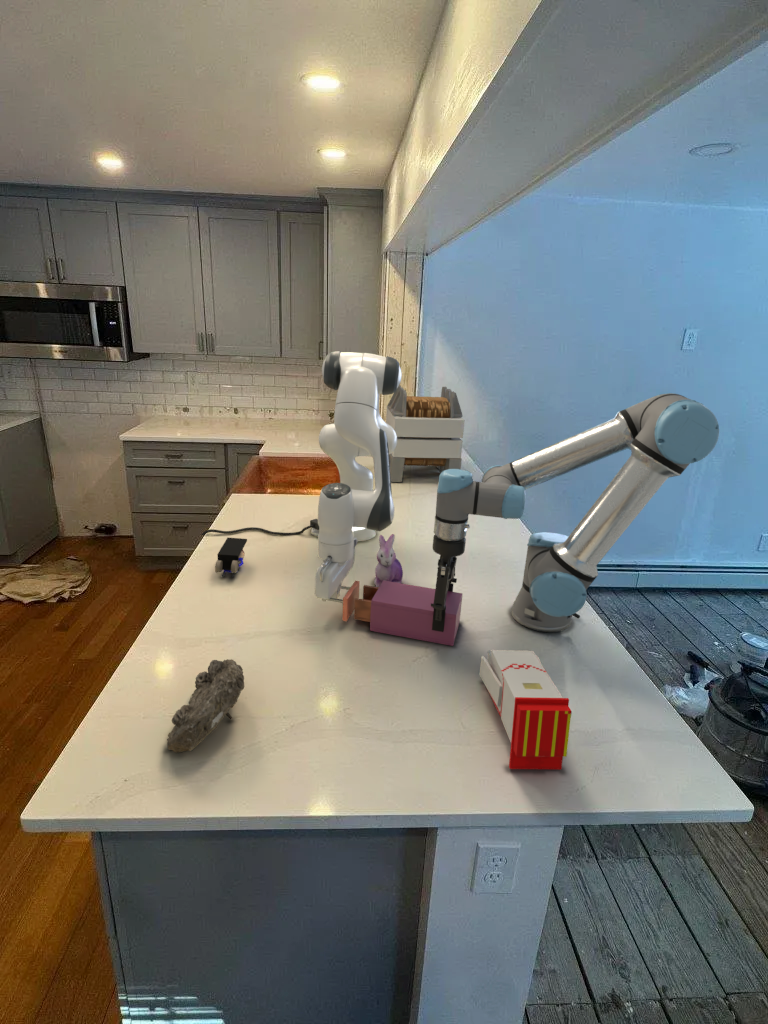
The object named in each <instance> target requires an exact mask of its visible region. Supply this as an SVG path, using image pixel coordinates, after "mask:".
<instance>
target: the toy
mask: <svg viewBox="0 0 768 1024" xmlns="http://www.w3.org/2000/svg"><path fill="white" fill-rule="evenodd" d="M480 658H481V659H480V667H479V677H480V679H481V681H482V682H483V684H484V686H485V687H486V690H487V692H488V694H489V696H490V699H491V701H492V702H493V704H494V707H495V709H496V711H497V713H498V715H499V717H500V720H501V722H502V725H503V727H504V730H505V732H506V734H507V737H508V739H509V742H510V749H509V750H510V751H509V753H510V754H509V761H508V762H509V764H508V769H509V770H559V771H560V770H561V771H562V767H563V759H564V758H567V755H568V747H569V738H570V737H569V736H570V729H571V728H570V727H571V721H572V710H571V708H570V706H569V704H570V699H569V697H563V696H562V694H561V692H560V691H559V689H558V687H557V686H556V684H555V683H554V681H553V680H552V678H551V676H550V675H549V674H548V672H547V670H546V669H545V667H544V666H543V664H542V662H541V659H540V657H539V655H537V654H536V653H535V652H534V650H514V649H513V650H512V649H491V650H487V658H486V657H485V656H484V655H481V657H480Z"/></svg>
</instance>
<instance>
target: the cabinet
mask: <svg viewBox="0 0 768 1024" xmlns="http://www.w3.org/2000/svg"><path fill="white" fill-rule="evenodd" d="M435 589H436V588H432V587H425V586H419V585H414V584H407V583H402V582H401V583H396V582H390V581H383V582H382V583H381V585H380V587H379V588H378V590H377V592H376V593H375V595H374V597H373V599H372V600H371V617H370V622H369V631H371V632H374V633H379V634H386V635H391V636H396V637H401V638H402V637H403V638H407V639H408V638H409V639H413V640H417V641H423V642H429V643H435V644H441V645H446V646H452V647H454V644H455V641H456V637H457V633H458V629H459V626H460V620H461V611H462V603H463V593H462V592H456V591H453V592H451V591H447V598H446V604H445V605H446V613H445V623H444V631H443V632H440V631H434V630H432V623H433V612H434V608H433V607H431V604H433V603H434V596H435Z"/></svg>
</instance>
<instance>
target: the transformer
mask: <svg viewBox="0 0 768 1024" xmlns="http://www.w3.org/2000/svg"><path fill="white" fill-rule="evenodd" d="M440 393H441V394H440V396H415V395H414V396H413V395H412V396H411V395H407V394H408V393H407V390H406V389H404V388H403V387H402V385H400V384H399V386H398V388H397V390H396V391H395V392H394V393H393V394H392V395H391V398H390V400H389V402H388V404H387V405H386V413H385V414H386V415H385V423H387V424H388V425H390V426H391V427H392V428H393V429H394V430H395V432H396V435H397V445H396V448H395V449H394V451H393V452H392V453H391V454H389V461H390V476H391V483H402V482H403V475H404V469H405V466H406V467H407V466H411V467H412V466H413V467H415V466H416V467H417V466H418V467H436V468H437V470H438V469H439V473H440V474H441V473H442V472H443V471H444V470H447V469H461V470H462V461H463V460H462V453H463V442H464V441H463V440H462V439H463V438H464V431H465V430H464V429H465V419H464V418H463V411H462V408H461V405H460V402H459V398H458V395H457V392H455V391H453V390H452V389H451V388H447V386H442V387H441V392H440Z"/></svg>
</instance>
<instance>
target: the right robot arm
mask: <svg viewBox="0 0 768 1024" xmlns="http://www.w3.org/2000/svg"><path fill="white" fill-rule="evenodd" d="M719 425H720V424H719V422H718V419H717V417H716V415H715V414H714V413H713V412H712V411H711V409H710V408H709V407H707V406H705V405H704V404H703V403H701V402H699V401H696V400H694V399H691V398H689V397H687V396H684V395H682V394H679V393H672V392H669V393H661V394H657V395H654V396H652V397H650V398H647V399H644V400H642V401H640V402H638V403H636V404H633V405H630V406H629V407H626V408H625V409H622V410H620V411H618V412H617V413H616V414H615V416H614V418H611V419H610V420H608V421H606V422H603V423H600V424H598V425H596V426H594V427H590V428H589V429H586V430H584V431H581V432H579V433H576V434H574V435H572V436H570V437H567V438H565V439H562V440H560V441H557V442H556V443H553V444H550V445H548V446H546V447H544V448H542V449H539V450H537V451H534V452H532V453H530V454H528V455H525V456H523V457H520V458H518V459H515V460H513V461H511V462H508V463H506V464H503V465H501V464H496V465H492V466H490V467H488V468H487V469H485V471H484V473H483V475H482V477H481V481H477V480H474V478H473V473H471V472H470V471H468V470H466V469H465V470H464V469H462V468H461V469H447V470H444V471H443V472H442V473H441V472H440V474H439V477H438V483H437V491H436V502H435V504H436V505H435V516H434V523H433V524H434V525H433V536H432V537H433V538H432V550H433V552H434V553H436V554H437V555H439V558H438V560H437V573H436V582H435V588H434V589H435V596H434V603H433V604H431V607H433V608H434V612H433V623H432V630H434V631H440V632H443V631H444V623H445V613H446V605H445V604H446V598H447V591H451V592H454V584H457V580H458V578H455V577H456V567H457V559H458V557H459V556H462V555H463V554H464V553H465V551H466V542H467V538H466V536H467V530H468V529H470V528H471V525H470V524H468V521H469V515H473V516H481V517H482V516H484V517H491V518H500V519H504V520H508V519H509V520H510V519H511V520H519V519H521V518H522V517H523V515H524V511H525V507H526V496H527V495H526V492H527V491H526V490H528V489H531V488H534V487H535V486H538V485H541V484H543V483H545V482H548V481H550V480H554V479H555V478H558V477H561V476H563V475H566V474H568V473H570V472H574V471H575V470H578V469H580V468H583V467H586V466H588V465H591V464H593V463H596V462H598V461H600V460H603V459H605V458H609V457H611V456H613V455H616V454H618V453H620V452H624V451H625V450H630V453H631V454H630V456H629V458H628V459H626V462H625V463H624V464H623V465H622V467H620V469H619V470H618V472H616V474H615V475H614V477H613V478H612V479H611V481H609V483H608V484H607V486H606V488H604V490H603V491H602V492H601V494H600V495H599V496H598V498H597V499H596V500H595V502H594V503H592V505H591V506H590V508H589V509H588V511H586V513H585V514H584V516H583V517H582V518H581V520H580V521H579V522H578V524H577V525H576V526H575V528H574V529H573V530H572V531H571V533H570V534H569V535H565V534H562V533H556V532H548V531H547V532H545V531H543V532H542V531H541V532H535V533H532V534H530V536H529V538H528V543H527V544H526V546H527V551H526V558H525V564H524V569H523V578H522V585H521V588H520V590H519V591H518V593H517V595H516V597H515V600H514V601H513V603H512V606H511V617H512V618H513V619H514V620H515V621H516V622H517V623H518V624H520V625H521V626H523V627H525V628H527V629H530V630H533V631H537V632H544V633H559V632H563V631H566V630H567V629H569V628H570V626H571V625H572V620H573V617H574V618H576V619H580V617H581V615H580V614H578V612H579V611H580V610H582V608H583V607H584V605H585V604H586V600H587V597H588V595H587V594H588V592H587V590H588V588H589V587H590V586H591V585H592V584H593V582H594V581H595V580H596V579H597V577H598V576H599V571H598V565H599V563H600V562H601V561H602V560H603V558H604V557H605V556H606V555H607V554H608V553H609V551H610V550H611V548H612V547H613V546H614V545H615V544H616V543H617V541H618V540H619V539H620V537H621V536H622V535H623V534H624V533H625V531H626V530H627V529H628V528H629V526H630V525H631V524H632V523H633V521H634V520H635V519H636V518H637V517H638V516H639V514H640V513H641V512H642V511H643V509H645V507H646V506H647V504H648V503H649V502H650V501H651V499H652V498H653V497H654V496H655V494H656V493H657V492H658V491H659V490H660V489H661V487H662V486H663V485H664V483H665V482H666V481H667V480H668V479H669V478H674V477H679V476H681V475H682V474H683V473H684V471H685V470H686V469H687V468H688V466H689V465H690V464H694V463H696V462H700V461H701V460H703V459H705V458H706V457H708V456H709V455H710V454H711V453H712V451H713V450H714V449H715V447H716V445H717V443H718V441H719V437H720V426H719Z"/></svg>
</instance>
